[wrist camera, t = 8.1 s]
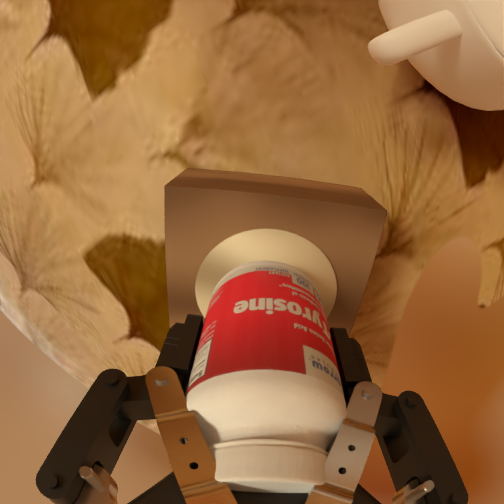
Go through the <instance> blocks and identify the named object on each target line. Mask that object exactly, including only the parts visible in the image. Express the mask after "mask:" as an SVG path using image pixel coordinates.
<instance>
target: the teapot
mask: <svg viewBox="0 0 504 504" xmlns="http://www.w3.org/2000/svg"><path fill="white" fill-rule="evenodd" d="M378 4H379V8H380V11H381V14H382V16H383V19H384V21H385V24H386V26H387V28H388V30H389V31H388V32H385V33H383V34H381V35H379V36H377V37H376V38H374V39H372V40H371V41H370V42H369V43H368V52H369V54H370V56H371V57H372V59H373V60H374V61H375V62H376V63H377V64H379V65H381V66H390V65H393V64H396V63H399V62H401V61H404V60H406V59H407V60H408V61H409V62H410V63H411V64H412V66H413V67H414V68H415V69H416V70H417V71H418V72H419V73H420V74H421V76H422V77H423V78H425V79H426V80H427V81H428V82H429V83H430V84H432V85H433V86H434V87H435V88H436V89H437V90H439V91H440V92H441V93H443V94H445V95H446V96H448V97H449V98H451V99H452V100H454V101H456V102H458V103H461V104H463V105H465V106H468V107H471V108H475V109H480V110H485V111H493V110H504V0H378Z"/></svg>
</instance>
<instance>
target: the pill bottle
mask: <svg viewBox="0 0 504 504" xmlns="http://www.w3.org/2000/svg"><path fill="white" fill-rule="evenodd" d="M185 398H186V401H187V408H188V410H192V411H193V413H194V415H195V417H196V420H197V422H198V425H199V427H200V429H201V432H202V434H203V436H204V439H205V441H206V443H207V446H208V448H209V450H210V452H211V454H212V457H213V459H214V461H215V463H216V472H215V480H217V481H223V482H226V483H227V485H228V487H229V488H230V490H235V491H246V492H264V493H308V492H309V491H310V490H311V488H312V487H313V486H314V485H323V484H325V461H326V459H327V455H328V452H327V451H325V450H326V449H327V447H328V446H329V444H330V443H331V441H332V439H333V438H334V436H335V434H336V432H337V431H338V429H339V427H340V425H341V423H342V421H343V419H346V415H347V411H346V402H345V399H344V394H343V389H342V384H341V379H340V375H339V370H338V366H337V362H336V357H335V353H334V349H333V344H332V340H331V336H330V332H329V328H328V324H327V320H326V316H325V312H324V308H323V304H322V301H321V297H320V294H319V292H318V289H317V288H316V286H315V284H314V283H313V282H312V280H311V279H310V278H309V277H308V276H307V275H306V274H305V273H303V272H302V271H300V270H299V269H297V268H295V267H293V266H291V265H288V264H285V263H282V262H277V261H253V262H249V263H246V264H243V265H240V266H238V267H236V268H235V269H233V270H231V271H230V272H228V273H227V274H226V275H225V276H224V277H223V278H222V279H221V280H220V281H219V282H218V284H217V285H216V287H215V289H214V291H213V293H212V296H211V299H210V302H209V306H208V310H207V313H206V317H205V320H204V324H203V328H202V331H201V335H200V338H199V342H198V346H197V350H196V354H195V358H194V362H193V366H192V370H191V374H190V378H189V382H188V386H187V390H186V393H185Z"/></svg>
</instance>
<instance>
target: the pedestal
mask: <svg viewBox="0 0 504 504" xmlns="http://www.w3.org/2000/svg"><path fill="white" fill-rule="evenodd" d="M386 215H387V210H385V209H384V208H383V207H382V206H381V205H380V204H379V203H378V202H376V201H375V200H374V199H373V198H372V197H371V196H370V195H368V194H367V193H366V192H365V191H364V190H362V189H361V188H356V187H350V186H344V185H338V184H331V183H325V182H318V181H311V180H303V179H296V178H288V177H280V176H271V175H262V174H252V173H242V172H231V171H219V170H205V169H190V168H187V169H186V170H184V171H183V172H182V173H181V174H179V175H178V176H177V177H175V178H174V179H173V180H171V181H170V182H169V183H168V184H166V185H165V252H166V275H167V292H168V306H169V319H170V328H171V327H172V326H173V325H174V324H175V323H183V324H184V323H185V320H186V317H187V315H188V314H194V315H202V316H203V324H204V320H205V317H206V313H207V310H208V306H209V302H210V299H211V296H212V293H213V291H214V289H215V287H216V285H217V284H218V282H219V281H220V280H221V279H222V278H223V277H224V276H225V275H226V274H227V273H228V272H230V271H231V270H233V269H235V268H236V267H238V266H240V265H243V264H246V263H249V262H253V261H277V262H282V263H285V264H288V265H291V266H293V267H295V268H297V269H299V270H300V271H302V272H303V273H305V274H306V275H307V276H308V277H309V278H310V279H311V280H312V282H313V283H314V284H315V286H316V288H317V289H318V292H319V294H320V297H321V301H322V304H323V308H324V312H325V316H326V320H327V324H328V328H329V329H330V328H331V327H335V328H346V330H347V334H348V337H349V334H350V332H351V329H352V326H353V323H354V321H355V318H356V315H357V312H358V309H359V306H360V304H361V301H362V298H363V295H364V292H365V288H366V285H367V282H368V279H369V276H370V273H371V269H372V266H373V263H374V259H375V256H376V252H377V249H378V245H379V242H380V238H381V234H382V230H383V227H384V223H385V219H386Z"/></svg>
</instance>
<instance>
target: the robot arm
mask: <svg viewBox="0 0 504 504" xmlns="http://www.w3.org/2000/svg"><path fill="white" fill-rule="evenodd" d="M202 328H203V316H202V315H194V314H188V315H187V317H186V320H185V323H184V324H183V323H175V324H174V325H173V326H172V327H171V328H170V329H169V332H168V334H167V338H166V339H165V342H164V345H163V347H162V350H161V353H160V356H159V358H158V361H157V364H156V366H155V368H153V369H151V370H150V371H149V372H148V373H147V374H146V375H143V376H134V377H126V375H125V373H124V372H122V371H121V370H118V369H108V370H105V371H103V372H102V373H100V374H99V376H98V377H97V379H96V380H95V382H94V383H93V385H92V386H91V388H90V389H89V391H88V392H87V394H86V395H85V397H84V398H83V400H82V402H81V403H80V405H79V406H78V408H77V409H76V411H75V412H74V414H73V416H72V417H71V419H70V420H69V422H68V423H67V425H66V426H65V428H64V430H63V431H62V433H61V435H60V436H59V438H58V439H57V441H56V443H55V444H54V446H53V448H52V449H51V451H50V453H49V454H48V456H47V458H46V460H45V461H44V463H43V465H42V466H41V468H40V470H39V472H38V473H37V476H36V485H37V487H38V489H39V491H40V492H41V493H42V494H43V495H44V496H46V497H47V498H49V499H50V500H51V501H52V502H53V503H55V504H118V503H117V492H118V487H117V484H116V482H115V481H114V479H113V478H112V477H111V476H110V475H111V473H112V471H113V469H114V467H115V465H116V463H117V461H118V459H119V456H120V454H121V452H122V450H123V448H124V446H125V444H126V442H127V440H128V438H129V436H130V434H131V432H132V430H133V428H134V425H135V423H136V422H137V420H149V419H156V421H157V425H158V428H159V431H160V434H161V437H162V440H163V443H164V447H165V450H166V452H167V455H168V458H169V461H170V464H171V466H172V469H173V472H172V473H170V474H169V475H168V476H166V477H165V478H163V479H162V480H161V481H159V482H158V483H157V484H155V485H154V486H152V487H151V488H150V489H148V490H147V491H145V492H144V493H142V494H141V495H140V496H138V497H137V498H135V499H134V500H132V501H131V502H129V503H128V504H381V503H380V502H379V501H378V500H376V499H375V498H374V497H373V496H372V495H371V494H369V493H368V492H367V491H366V490H365V489H364V488H363V487H362V486H361V485H360V484H359V483H358V481H359V479H360V476H361V474H362V471H363V468H364V466H365V463H366V460H367V457H368V454H369V451H370V448H371V445H372V442H373V439H374V436H375V435H376V437H377V439H378V442H379V445H380V447H381V450H382V453H383V456H384V458H385V461H386V464H387V466H388V469H389V472H390V475H391V478H392V480H393V483H394V486H395V489H396V493H395V494H394V496H393V499H392V504H467V502H468V493H467V491H466V489H465V486H464V484H463V481H462V479H461V477H460V474H459V472H458V470H457V468H456V465H455V463H454V461H453V459H452V457H451V455H450V453H449V451H448V449H447V446H446V444H445V442H444V440H443V438H442V436H441V434H440V432H439V430H438V428H437V426H436V424H435V422H434V420H433V418H432V416H431V414H430V412H429V411H428V409H427V407H426V405H425V403H424V401H423V399H422V398H421V396H420V395H419V394H417V393H415V392H413V391H404V392H402V393H401V394H400V395H399V397H397V396H392V395H387V394H384V393H382V391H381V389H380V388H379V386H377V385H376V384H374V383H372V380H371V377H370V374H369V371H368V368H367V364H366V361H365V358H364V355H363V352H362V349H361V346H360V344H359V343H358V342H357V341H356V340H355V339H354V338H349V337H348V334H347V330H346V328H335V327H331V328H330V329H329V332H330V336H331V340H332V344H333V349H334V353H335V357H336V362H337V366H338V370H339V375H340V379H341V384H342V389H343V394H344V399H345V402H346V411H347V415H346V419H343V421H342V423H341V425H340V427H339V429H338V431H337V432H336V434H335V436H334V438H333V439H332V441H331V443H330V444H329V446H328V447H327V449H326V450H325V451H327V452H328V455H327V459H326V461H325V484H323V485H314V486H313V487H312V488H311V490H310V491H309V492H308V493H264V492H246V491H235V490H230V488H229V487H228V485H227V483H226V482H223V481H217V480H215V472H216V463H215V461H214V459H213V457H212V454H211V452H210V450H209V448H208V446H207V443H206V441H205V439H204V436H203V434H202V432H201V429H200V427H199V425H198V422H197V420H196V417H195V415H194V413H193V411H192V410H188V408H187V401H186V398H185V393H186V390H187V386H188V382H189V378H190V374H191V370H192V366H193V362H194V358H195V354H196V350H197V346H198V342H199V338H200V335H201V331H202Z"/></svg>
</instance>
